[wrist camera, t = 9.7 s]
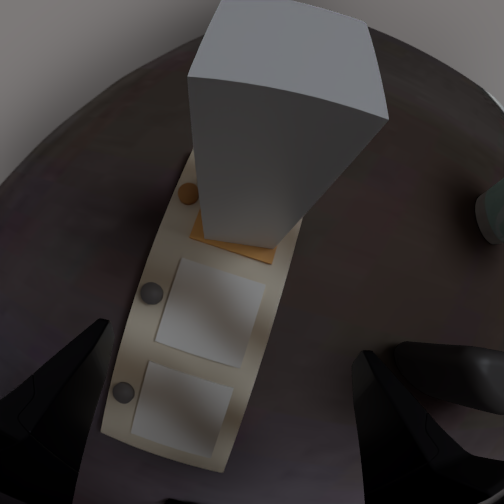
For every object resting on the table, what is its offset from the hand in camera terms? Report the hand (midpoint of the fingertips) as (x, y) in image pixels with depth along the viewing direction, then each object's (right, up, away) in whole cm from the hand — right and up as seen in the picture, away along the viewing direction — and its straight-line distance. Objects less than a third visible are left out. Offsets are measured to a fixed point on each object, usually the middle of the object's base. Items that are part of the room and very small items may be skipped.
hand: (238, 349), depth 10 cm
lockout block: (0, +6, +10) cm, 12 cm away
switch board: (-3, -1, +10) cm, 10 cm away
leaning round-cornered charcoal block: (+19, -7, +12) cm, 23 cm away
